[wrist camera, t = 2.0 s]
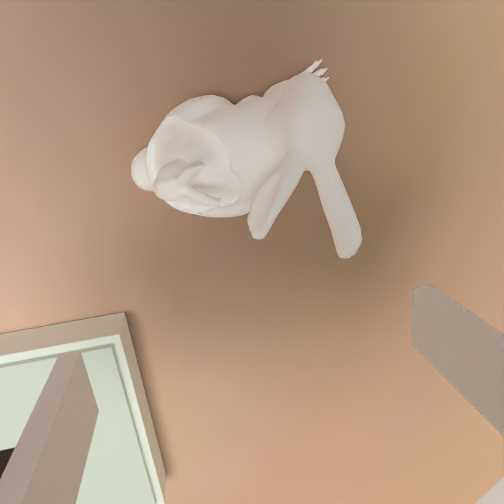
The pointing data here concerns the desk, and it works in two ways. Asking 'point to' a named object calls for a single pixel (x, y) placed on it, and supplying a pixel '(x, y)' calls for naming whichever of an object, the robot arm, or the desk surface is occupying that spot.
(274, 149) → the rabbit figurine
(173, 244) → the desk surface
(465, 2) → the desk surface
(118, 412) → the tray
